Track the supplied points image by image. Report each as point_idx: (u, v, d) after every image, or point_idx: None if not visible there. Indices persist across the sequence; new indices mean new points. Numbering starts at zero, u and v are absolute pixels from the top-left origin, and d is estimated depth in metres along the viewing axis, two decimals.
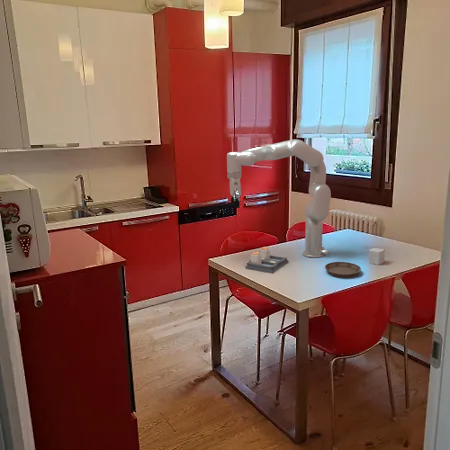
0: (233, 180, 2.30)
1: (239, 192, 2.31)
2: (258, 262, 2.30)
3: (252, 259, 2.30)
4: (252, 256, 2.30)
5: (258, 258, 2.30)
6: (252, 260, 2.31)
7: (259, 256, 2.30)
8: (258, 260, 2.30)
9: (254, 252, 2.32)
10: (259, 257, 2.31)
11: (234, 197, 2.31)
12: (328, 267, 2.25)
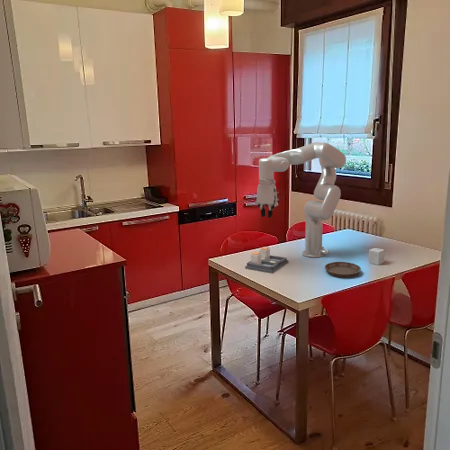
0: (272, 187, 2.21)
1: (276, 199, 2.25)
2: (258, 262, 2.30)
3: (252, 259, 2.30)
4: (252, 256, 2.30)
5: (258, 258, 2.30)
6: (252, 260, 2.31)
7: (259, 256, 2.30)
8: (258, 260, 2.30)
9: (254, 252, 2.32)
10: (259, 257, 2.31)
11: (270, 206, 2.24)
12: (328, 267, 2.25)
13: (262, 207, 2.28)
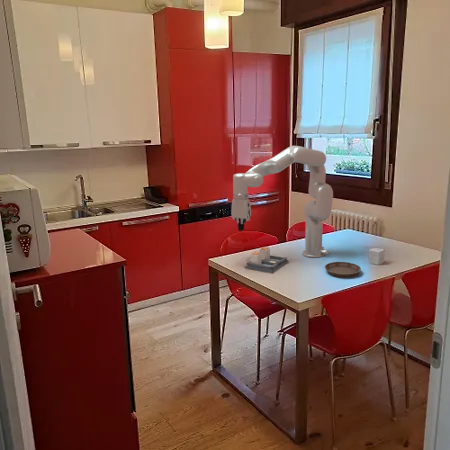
0: (246, 202, 2.26)
1: (250, 213, 2.29)
2: (258, 262, 2.30)
3: (252, 259, 2.30)
4: (252, 256, 2.30)
5: (258, 258, 2.30)
6: (252, 260, 2.31)
7: (259, 256, 2.30)
8: (258, 260, 2.30)
9: (254, 252, 2.32)
10: (259, 257, 2.31)
11: (243, 221, 2.30)
12: (328, 267, 2.25)
13: (239, 221, 2.32)
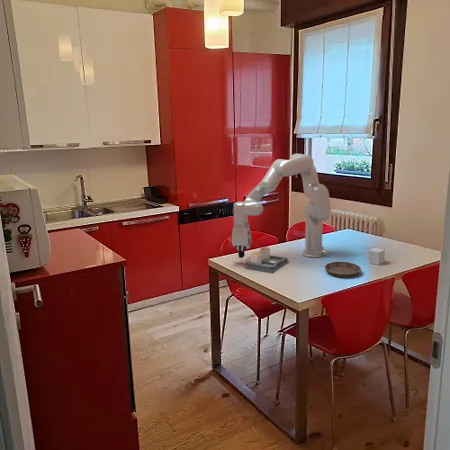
0: (246, 230, 2.30)
1: (250, 240, 2.33)
2: (258, 262, 2.30)
3: (252, 259, 2.30)
4: (252, 256, 2.30)
5: (258, 258, 2.30)
6: (252, 260, 2.31)
7: (259, 256, 2.30)
8: (258, 260, 2.30)
9: (254, 252, 2.32)
10: (259, 257, 2.31)
11: (243, 248, 2.33)
12: (328, 267, 2.25)
13: (239, 248, 2.35)
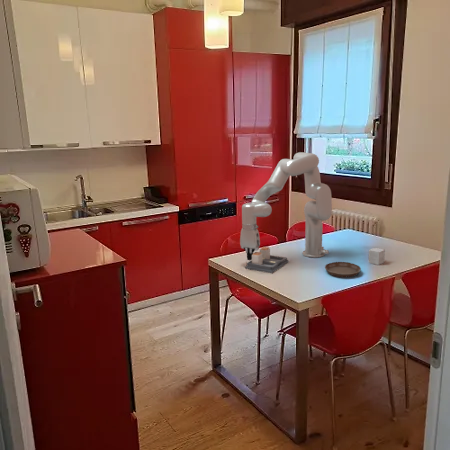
0: (255, 232, 2.27)
1: (259, 242, 2.30)
2: (259, 262, 2.30)
3: (253, 259, 2.30)
4: (253, 256, 2.30)
5: (259, 258, 2.29)
6: (253, 260, 2.30)
7: (260, 256, 2.30)
8: (259, 260, 2.29)
9: (255, 252, 2.31)
10: (260, 257, 2.30)
11: (251, 250, 2.31)
12: (328, 267, 2.25)
13: (248, 250, 2.33)
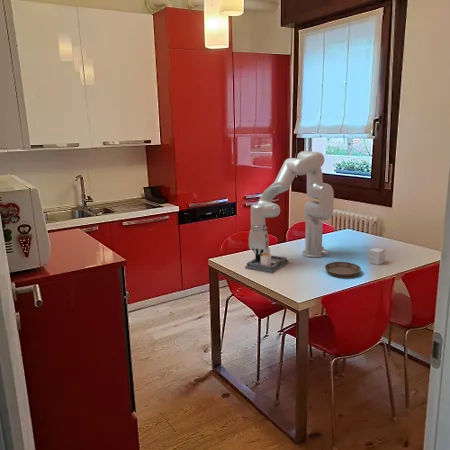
0: (264, 233, 2.24)
1: (268, 244, 2.28)
2: (268, 264, 2.27)
3: (262, 261, 2.27)
4: (262, 258, 2.27)
5: (268, 260, 2.27)
6: (262, 262, 2.27)
7: (269, 258, 2.27)
8: (268, 262, 2.27)
9: (264, 254, 2.29)
10: (269, 259, 2.27)
11: (260, 251, 2.28)
12: (328, 267, 2.25)
13: (256, 251, 2.30)
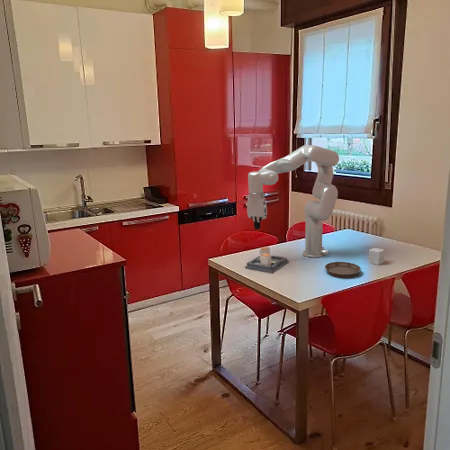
0: (262, 200, 2.25)
1: (266, 211, 2.29)
2: (268, 264, 2.27)
3: (262, 261, 2.27)
4: (262, 258, 2.27)
5: (268, 260, 2.26)
6: (262, 262, 2.27)
7: (269, 258, 2.27)
8: (268, 262, 2.27)
9: (264, 254, 2.29)
10: (269, 259, 2.27)
11: (259, 219, 2.29)
12: (328, 267, 2.25)
13: (255, 219, 2.31)
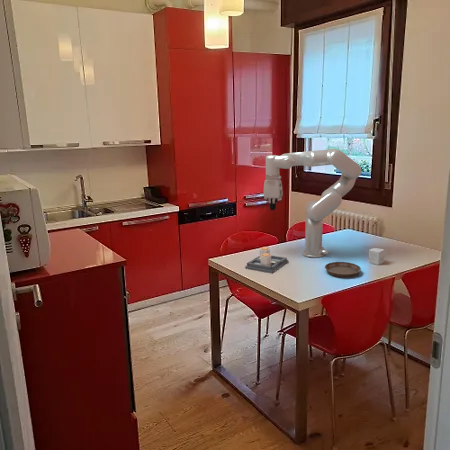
0: (278, 182, 2.38)
1: (282, 193, 2.41)
2: (268, 264, 2.27)
3: (262, 261, 2.27)
4: (262, 258, 2.27)
5: (268, 260, 2.26)
6: (262, 262, 2.27)
7: (269, 258, 2.27)
8: (268, 262, 2.27)
9: (264, 254, 2.29)
10: (269, 259, 2.27)
11: (275, 200, 2.41)
12: (328, 267, 2.25)
13: (271, 201, 2.44)
